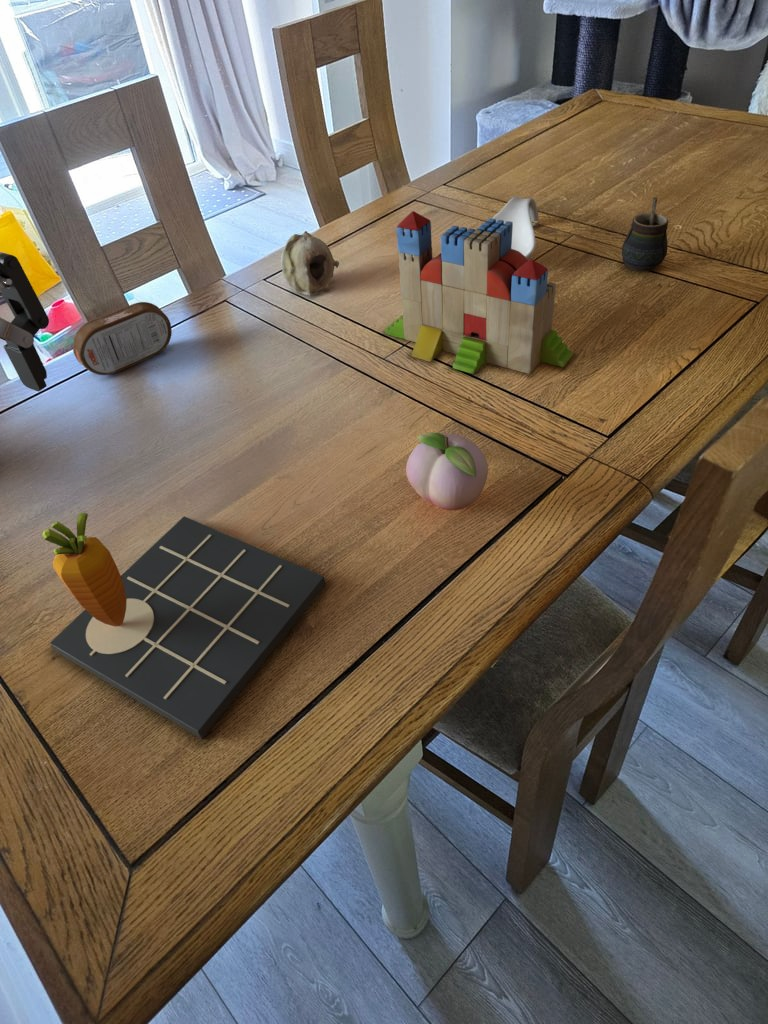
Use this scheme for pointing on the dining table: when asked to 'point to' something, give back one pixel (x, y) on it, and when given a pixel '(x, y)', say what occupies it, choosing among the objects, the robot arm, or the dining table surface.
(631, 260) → the mate gourd
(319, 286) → the beige rounded lump
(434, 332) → the block set
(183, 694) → the grid board
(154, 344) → the tin
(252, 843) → the dining table surface
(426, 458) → the decorative fruit
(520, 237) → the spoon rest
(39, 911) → the dining table surface
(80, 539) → the carrot
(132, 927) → the dining table surface
